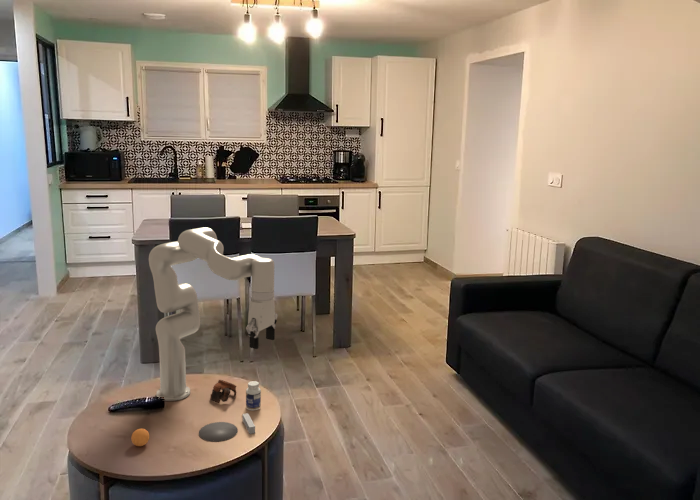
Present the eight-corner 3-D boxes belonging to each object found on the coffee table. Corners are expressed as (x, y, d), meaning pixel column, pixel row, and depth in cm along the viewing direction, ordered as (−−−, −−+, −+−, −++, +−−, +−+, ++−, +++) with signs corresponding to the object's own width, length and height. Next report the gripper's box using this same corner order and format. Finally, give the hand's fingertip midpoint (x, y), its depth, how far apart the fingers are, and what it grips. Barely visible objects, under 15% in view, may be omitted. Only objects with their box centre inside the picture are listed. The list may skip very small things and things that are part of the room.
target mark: (196, 425, 200) (196, 425, 200) (234, 420, 204) (234, 419, 204) (201, 444, 188) (201, 443, 188) (241, 438, 193) (240, 437, 193)
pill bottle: (243, 407, 214) (243, 382, 213) (255, 402, 218) (255, 379, 216) (251, 412, 211) (251, 387, 209) (263, 408, 214) (263, 383, 212)
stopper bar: (242, 420, 204) (242, 414, 204) (248, 419, 205) (248, 413, 205) (249, 434, 196) (249, 427, 195) (255, 433, 196) (255, 426, 196)
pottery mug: (205, 397, 222) (213, 377, 224) (227, 404, 226) (235, 384, 228) (213, 403, 212) (222, 381, 214) (236, 410, 215) (244, 388, 217)
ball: (131, 442, 188) (130, 426, 187) (149, 439, 190) (148, 424, 189) (131, 450, 183) (131, 435, 182) (150, 448, 185) (149, 432, 184)
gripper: (267, 287, 201) (267, 334, 204) (237, 299, 186) (237, 349, 189) (285, 290, 198) (285, 338, 201) (257, 303, 183) (256, 354, 186)
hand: (262, 343), depth 195 cm, fingers open, 9 cm apart
